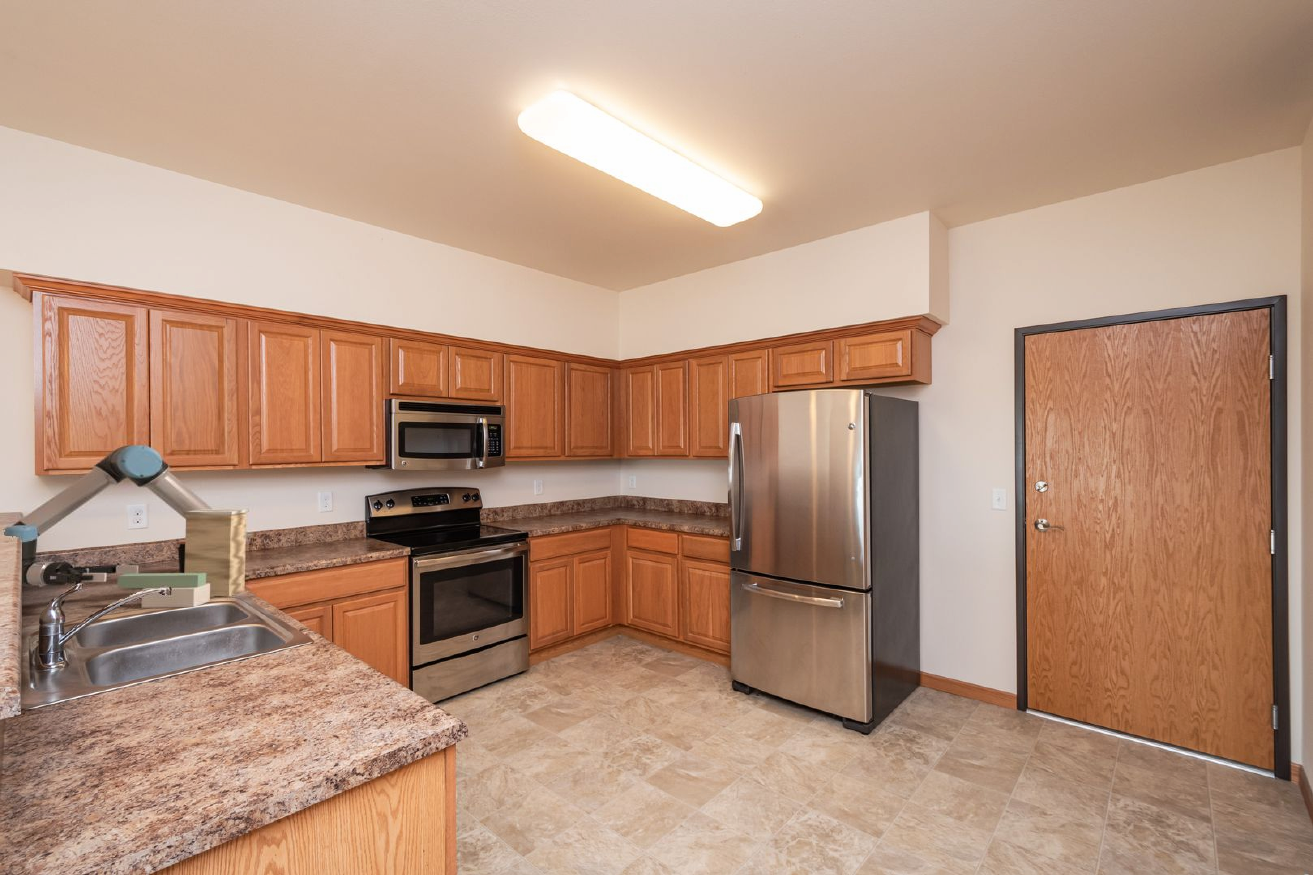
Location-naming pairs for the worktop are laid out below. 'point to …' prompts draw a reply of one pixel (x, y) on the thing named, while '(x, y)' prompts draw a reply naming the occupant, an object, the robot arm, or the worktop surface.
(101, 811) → the worktop surface
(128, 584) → the pale green rectangular block
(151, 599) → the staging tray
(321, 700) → the worktop surface
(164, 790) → the worktop surface
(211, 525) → the tall wooden pillar block
